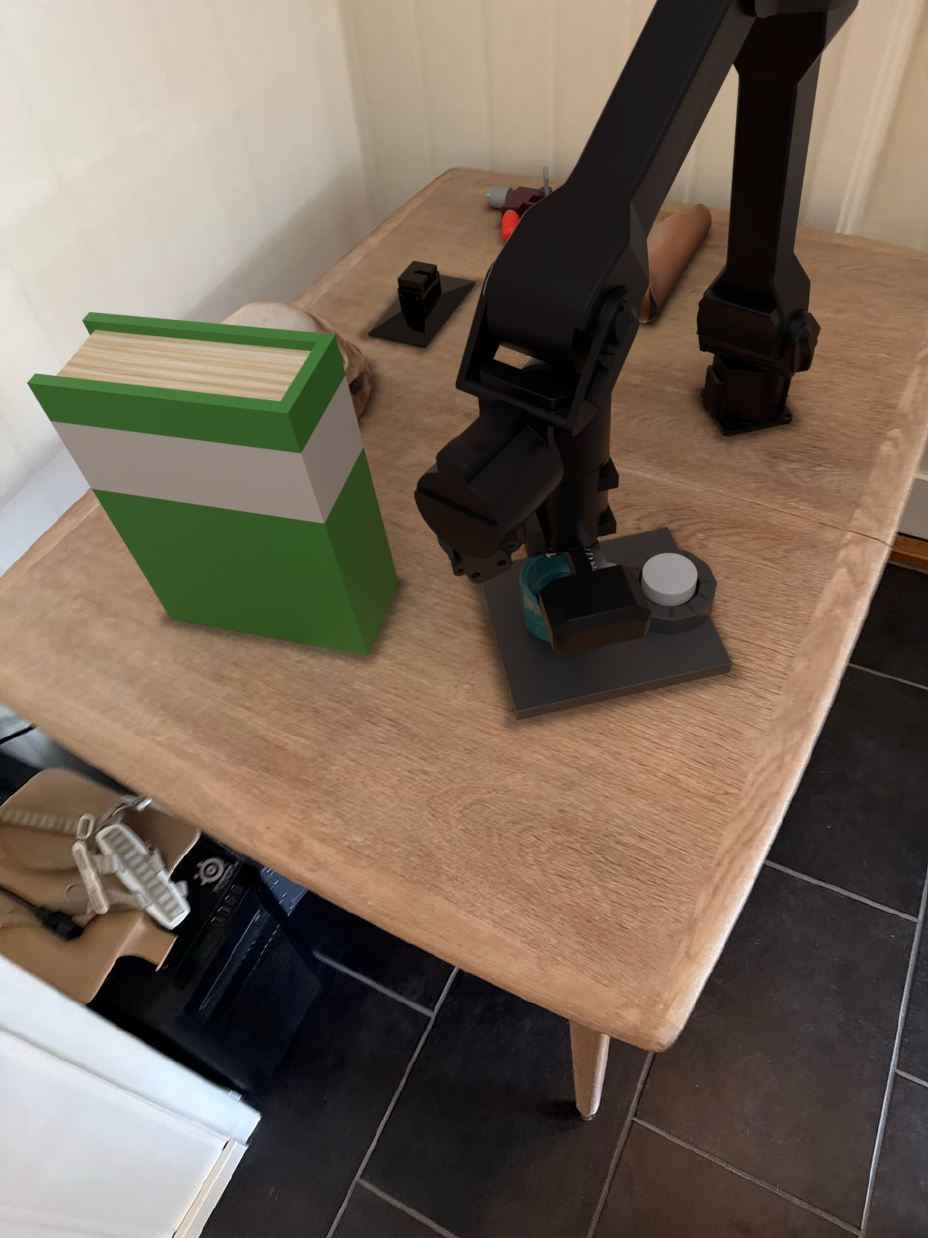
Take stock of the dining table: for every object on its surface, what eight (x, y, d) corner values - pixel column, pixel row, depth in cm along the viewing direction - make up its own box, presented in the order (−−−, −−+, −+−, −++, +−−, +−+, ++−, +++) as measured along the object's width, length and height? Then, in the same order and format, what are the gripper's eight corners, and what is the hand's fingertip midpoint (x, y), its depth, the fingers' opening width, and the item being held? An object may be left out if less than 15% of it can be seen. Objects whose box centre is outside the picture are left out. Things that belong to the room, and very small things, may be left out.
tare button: (684, 561, 67) (686, 547, 66) (703, 600, 65) (705, 587, 64) (634, 572, 67) (635, 559, 66) (651, 612, 65) (652, 599, 64)
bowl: (591, 575, 68) (592, 537, 65) (615, 638, 65) (618, 600, 61) (514, 593, 68) (511, 555, 65) (534, 656, 64) (531, 620, 61)
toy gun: (493, 197, 109) (489, 157, 105) (582, 212, 105) (582, 171, 101) (456, 238, 104) (451, 197, 100) (549, 255, 100) (547, 213, 96)
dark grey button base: (677, 533, 73) (680, 508, 70) (743, 669, 64) (749, 646, 62) (477, 577, 72) (474, 553, 70) (517, 721, 63) (514, 699, 61)
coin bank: (368, 351, 92) (336, 239, 80) (388, 475, 83) (356, 369, 71) (222, 383, 92) (170, 276, 81) (226, 510, 83) (169, 410, 72)
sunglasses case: (638, 219, 101) (671, 173, 95) (686, 256, 102) (722, 213, 96) (580, 307, 92) (613, 262, 86) (633, 347, 93) (669, 305, 87)
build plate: (425, 350, 92) (418, 311, 88) (365, 337, 94) (356, 298, 90) (476, 283, 98) (472, 244, 94) (419, 273, 100) (413, 234, 97)
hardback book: (170, 618, 73) (26, 382, 54) (210, 552, 77) (89, 311, 58) (368, 655, 68) (287, 413, 49) (398, 583, 72) (335, 334, 53)
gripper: (408, 381, 59) (438, 538, 71) (462, 591, 47) (486, 734, 60) (570, 347, 59) (571, 509, 71) (662, 546, 48) (645, 698, 60)
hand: (565, 604), depth 66 cm, fingers closed on bowl, 6 cm apart
